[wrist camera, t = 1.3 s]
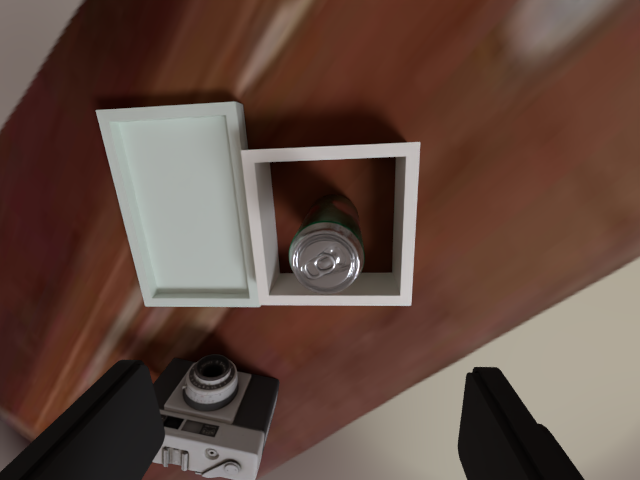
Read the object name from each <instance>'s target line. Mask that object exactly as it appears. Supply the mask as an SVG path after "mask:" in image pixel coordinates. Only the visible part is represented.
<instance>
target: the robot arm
mask: <svg viewBox="0 0 640 480" xmlns="http://www.w3.org/2000/svg"><path fill="white" fill-rule="evenodd" d="M164 439H165V429H164V425H163V421H162V418H161V414H160V410H159V406H158V402H157V399H156V395H155V391H154V387H153V383H152V380H151V376H150V372H149V369H148V367H147V366H145V365H144V362H142V361H141V360H120V361H118V362H117V363H116V364H114V365H113V366H112V367H111V368H110V369H109V370H108V371H107V372H106V373H105V374H104V375H103V376H102V377H101V378H100V379H99V380H98V381H96V382H95V383H94V384H93V385H92V386H91V387H90V388H89V389H88V390H87V391H86V392H85V393H84V394H83V395H82V396H81V397H79V398H78V399H77V400H76V401H75V402H74V403H73V404H72V405H71V406H70V407H69V408H68V409H67V410H66V411H65V412H64V413H63V414H61V415H60V416H59V417H58V418H57V419H56V420H55V421H54V422H53V423H52V424H51V425H50V426H49V427H48V428H47V429H46V430H45V431H43V432H42V433H41V434H40V435H39V436H38V437H37V438H36V439H35V440H34V441H33V442H32V443H31V444H30V445H29V446H28V447H27V448H25V449H24V451H22V452H21V453H20V454H19V455H18V456H17V457H16V458H15V459H14V460H13V461H12V462H11V463H10V464H8V465H7V466H6V467H5V468H4V469H3V470H2V471H1V472H0V480H141V479H142V478H143V476H144V474H145V473H146V471H147V469H148V468H149V466H150V464H151V463H152V461H153V460H154V458H155V456H156V455H157V453H158V451H159V450H160V448H161V446H162V445H163V442H164ZM458 453H459V458H460V461H461V464H462V466H463V469H464V472H465V475H466V477H467V480H584V478H583V477H582V475H581V474H580V473H579V471H578V470H577V469H576V467H575V466H574V464H573V463H572V461H571V460H570V459H569V457H568V456H567V455H566V453H565V452H564V450H563V449H562V447H561V446H560V445H559V443H558V442H557V441H556V440H555V438H554V436H553V435H552V434H551V433H550V431H549V430H548V429H547V428H546V427H545V426H543V425H542V424H537V422H536V421H535V419H534V418H533V417H532V415H531V414H530V412H529V411H528V410H527V408H526V406H525V405H524V404H523V402H522V401H521V399H520V398H519V396H518V395H517V393H516V392H515V390H514V389H513V388H512V386H511V385H510V383H509V382H508V380H507V379H506V377H505V376H504V375H503V373H502V372H501V370H500V369H498V368H497V367H474V369H473V372H472V373H467V375H466V383H465V391H464V399H463V406H462V415H461V422H460V431H459V438H458Z"/></svg>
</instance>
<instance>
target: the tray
mask: <svg viewBox="0 0 640 480" xmlns="http://www.w3.org/2000/svg"><path fill="white" fill-rule="evenodd" d="M96 114H97V118H98V122H99V126H100V130H101V133H102V137H103V141H104V145H105V149H106V153H107V157H108V161H109V165H110V169H111V173H112V177H113V181H114V185H115V189H116V193H117V197H118V201H119V205H120V208H121V212H122V216H123V220H124V224H125V228H126V232H127V236H128V240H129V244H130V248H131V252H132V256H133V260H134V264H135V268H136V272H137V276H138V279H139V283H140V287H141V291H142V295H143V299H144V303H145V306H166V307H260V306H261V305H259V298H258V290H257V281H256V273H255V265H254V256H253V248H252V240H251V232H250V223H249V215H248V207H247V198H246V190H245V182H244V174H243V165H242V157H241V150H248V143H247V134H246V126H245V117H244V108H243V104H241V103H238V102H220V103H204V104H188V105H172V106H156V107H139V108H123V109H107V110H96Z"/></svg>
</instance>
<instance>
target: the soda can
mask: <svg viewBox="0 0 640 480" xmlns="http://www.w3.org/2000/svg"><path fill="white" fill-rule="evenodd" d="M289 262H290V266H291V269H292V271H293V273H294V275H295V276H296V278H297V280H298V281H299V282H300V283H301V284H302V285H303V286H304V287H305V288H307V289H309V290H310V291H313V292H315V293H319V294H334V293H338V292H340V291H343V290H344V289H346V288H347V287H349V286H350V285H351V284H352V283H353V282H354V281H355V280H356V279H357V278H358V277H359V275H360V274H361V272H362V269H363V266H364V262H365V253H364V246H363V240H362V234H361V228H360V221H359V215H358V212H357V209H356V207H355V206H354V204H353V203H352V202H351V201H350V200H348V199H347V198H345V197H343V196H340V195H326V196H323V197H321V198H319V199H318V200H317V201H316V202H314V204H313V205H312V206H311V208H310V210H309V212H308V213H307V215H306V217H305V219H304V221H303V222H302V224H301V226H300V228H299V229H298V231H297V233H296V235H295V236H294V238H293V240H292V242H291V245H290V249H289Z"/></svg>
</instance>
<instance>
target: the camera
mask: <svg viewBox="0 0 640 480" xmlns="http://www.w3.org/2000/svg"><path fill="white" fill-rule="evenodd" d="M153 387H154V391H155V395H156V399H157V402H158V406H159V410H160V414H161V418H162V421H163V425H164V429H165V439H164V442H163V445H162V446H161V448H160V450H159V451H158V453H157V455H156V456H155V458H154V460H153V461H152V462H155V463H160V464H164V467H168V463H169V464H170V463H172V464H177V465H181V466H182V470H183V471H186V470H187V468H188V470H192V471H196V472H195V474H201V475H202V476H203V477H207V478H213V477H224V478H229V479H234V480H255V479H256V476H257V472H258V468H259V465H260V461H261V457H262V453H263V450H264V446H265V443H266V439H267V435H268V432H269V428H270V424H271V421H272V417H273V414H274V410H275V406H276V401H277V395H278V389H279V380H277V379H274V378H269V377H264V376H259V375H255V374H250V373H245V372H240V371H237V369H236V366H235V364H234V363H233V362H232V361H230V360H229V359H228V358H226V357H225V356H223V355H219V354H211V355H207V356H205V357H203V358H201V359H200V360H199V361H198V362H192V361H187V360H182V359H178V358H174V359H173V360H172V361H171V362H170V364H169V365H168V366H167V367H166V369H165V370H164V371H163V372H162V374H161V375H160V376H159V377H158V379H157V380H156V381H155V382H154V384H153Z"/></svg>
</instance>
